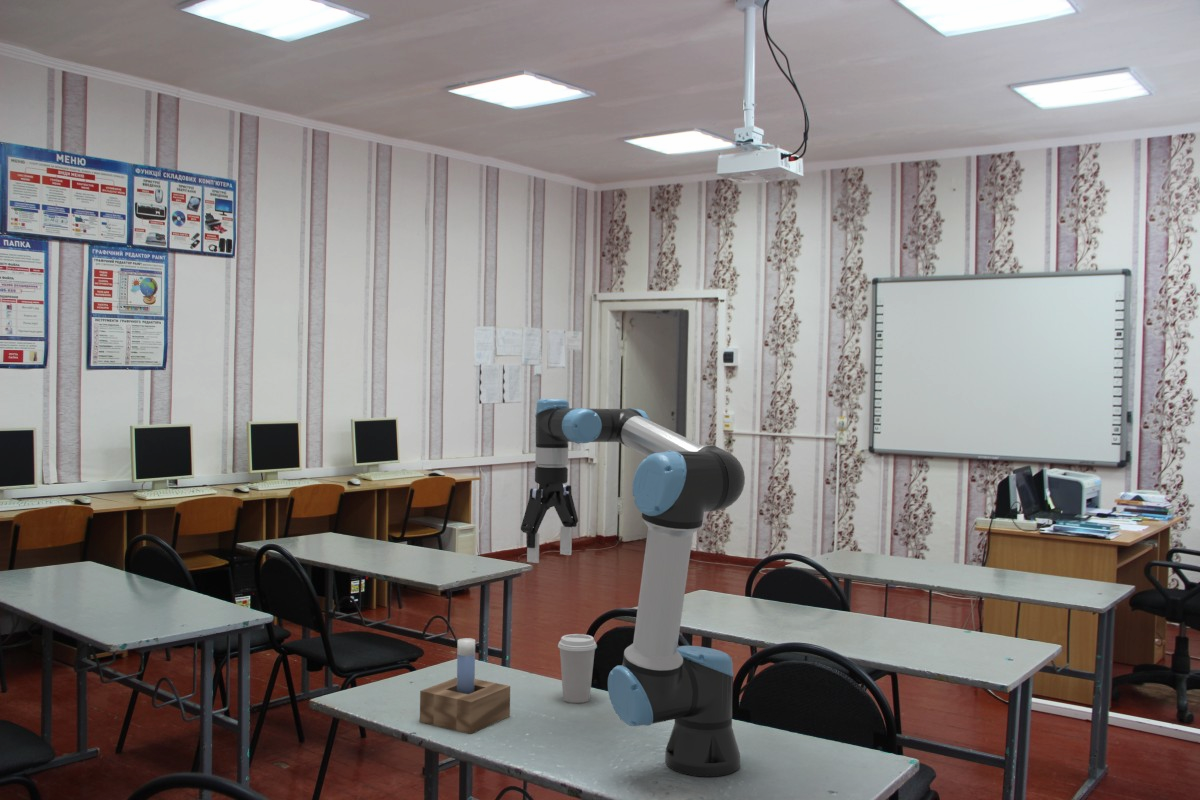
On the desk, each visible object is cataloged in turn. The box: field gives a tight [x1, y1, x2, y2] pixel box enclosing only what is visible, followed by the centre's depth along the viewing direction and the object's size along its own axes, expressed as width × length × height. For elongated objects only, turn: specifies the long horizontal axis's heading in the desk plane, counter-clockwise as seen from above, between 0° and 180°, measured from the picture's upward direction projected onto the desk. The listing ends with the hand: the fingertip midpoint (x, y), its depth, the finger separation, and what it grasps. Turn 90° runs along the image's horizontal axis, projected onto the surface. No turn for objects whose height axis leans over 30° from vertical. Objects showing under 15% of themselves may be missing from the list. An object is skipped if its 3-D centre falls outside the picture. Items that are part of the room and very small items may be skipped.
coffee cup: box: [557, 633, 598, 704], centre depth 244 cm, size 10×10×15 cm
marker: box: [456, 637, 476, 694], centre depth 228 cm, size 4×4×18 cm
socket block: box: [419, 677, 511, 735], centre depth 228 cm, size 14×14×7 cm
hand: (549, 558), depth 229 cm, fingers open, 13 cm apart
